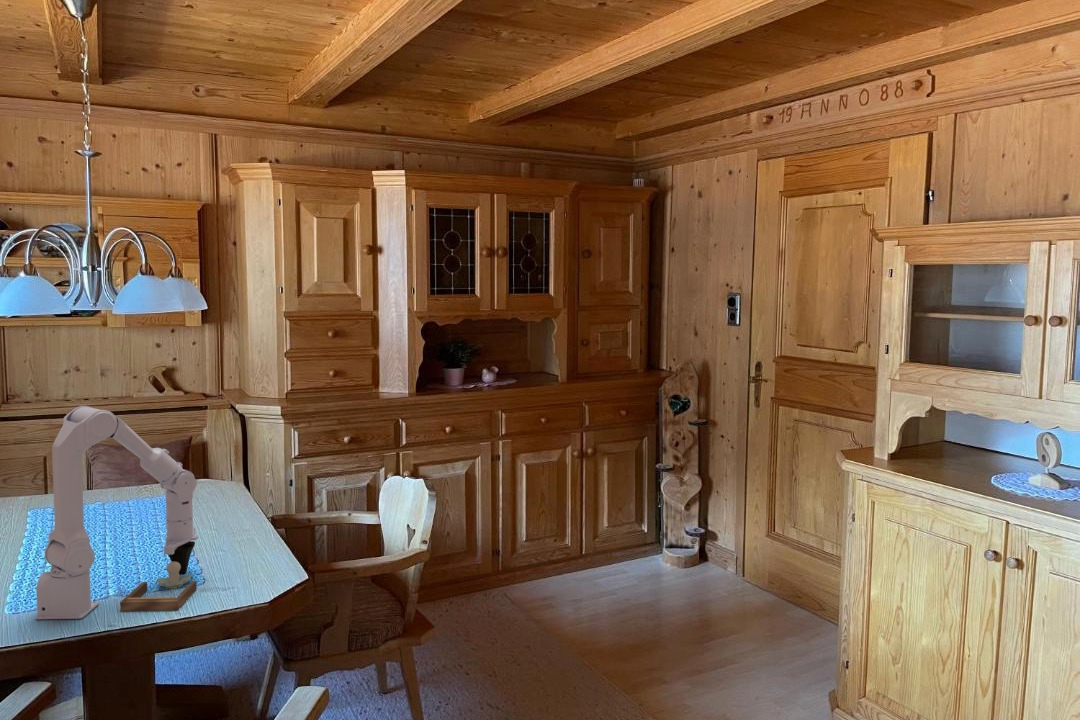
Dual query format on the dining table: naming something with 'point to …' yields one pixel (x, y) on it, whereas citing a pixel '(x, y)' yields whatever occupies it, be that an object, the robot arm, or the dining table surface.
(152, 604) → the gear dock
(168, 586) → the pacifier
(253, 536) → the dining table surface
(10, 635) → the dining table surface
